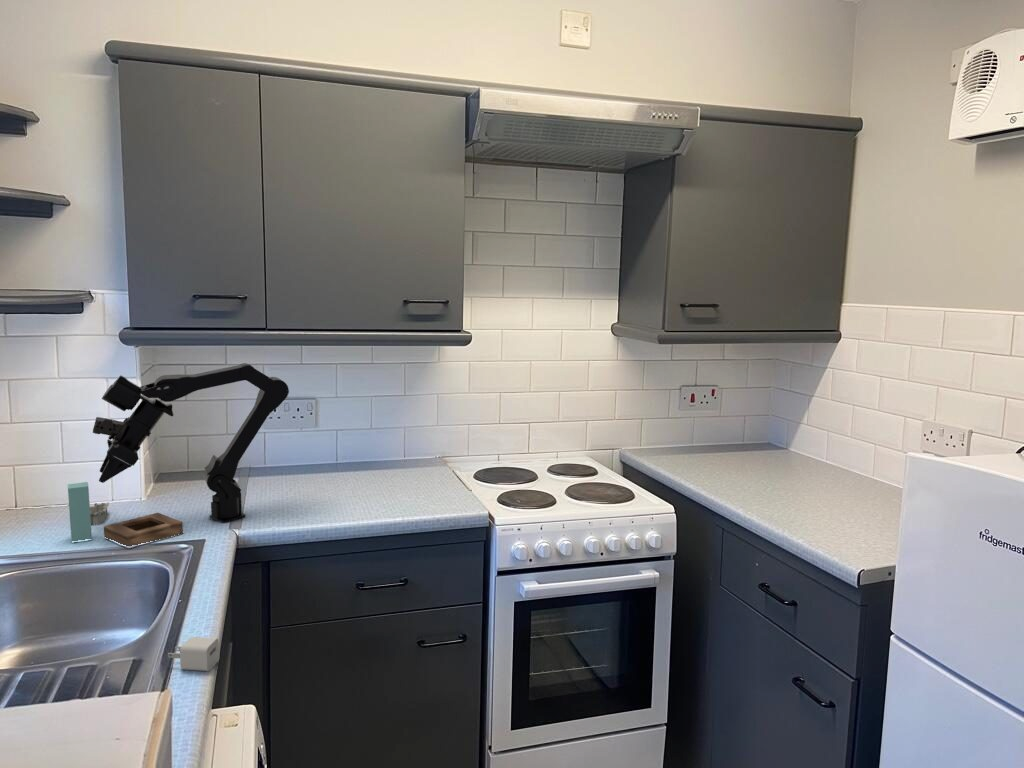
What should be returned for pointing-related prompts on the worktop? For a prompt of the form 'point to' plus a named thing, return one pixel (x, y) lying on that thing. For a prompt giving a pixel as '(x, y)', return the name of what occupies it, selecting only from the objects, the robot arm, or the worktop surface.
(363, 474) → the worktop surface
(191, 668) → the usb wall charger
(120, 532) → the walnut box
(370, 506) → the worktop surface
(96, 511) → the miniature castle
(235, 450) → the robot arm
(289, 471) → the worktop surface
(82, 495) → the teal post
